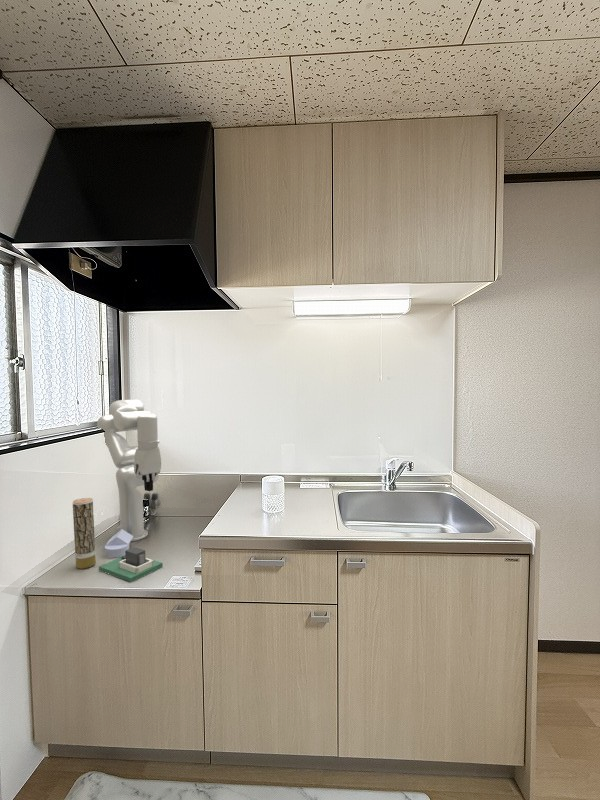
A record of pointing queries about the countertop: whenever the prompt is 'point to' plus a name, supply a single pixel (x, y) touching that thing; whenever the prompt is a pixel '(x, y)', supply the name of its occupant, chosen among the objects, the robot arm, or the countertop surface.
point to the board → (129, 568)
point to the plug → (135, 556)
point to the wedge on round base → (118, 544)
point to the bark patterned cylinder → (84, 532)
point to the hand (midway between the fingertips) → (148, 490)
